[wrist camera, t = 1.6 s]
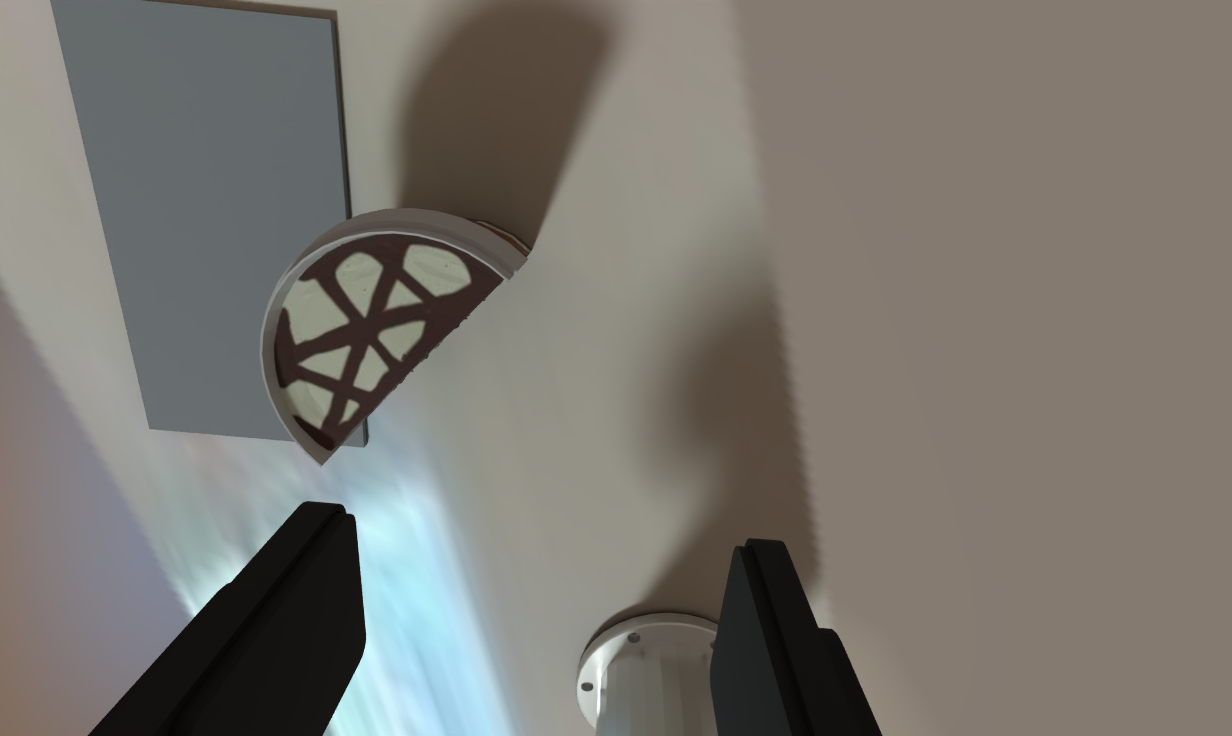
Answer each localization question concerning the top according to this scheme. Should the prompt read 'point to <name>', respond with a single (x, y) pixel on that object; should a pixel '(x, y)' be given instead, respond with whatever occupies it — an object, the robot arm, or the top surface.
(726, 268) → the top surface
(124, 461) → the top surface
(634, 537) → the top surface
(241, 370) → the rubber mat
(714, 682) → the robot arm
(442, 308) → the food container
